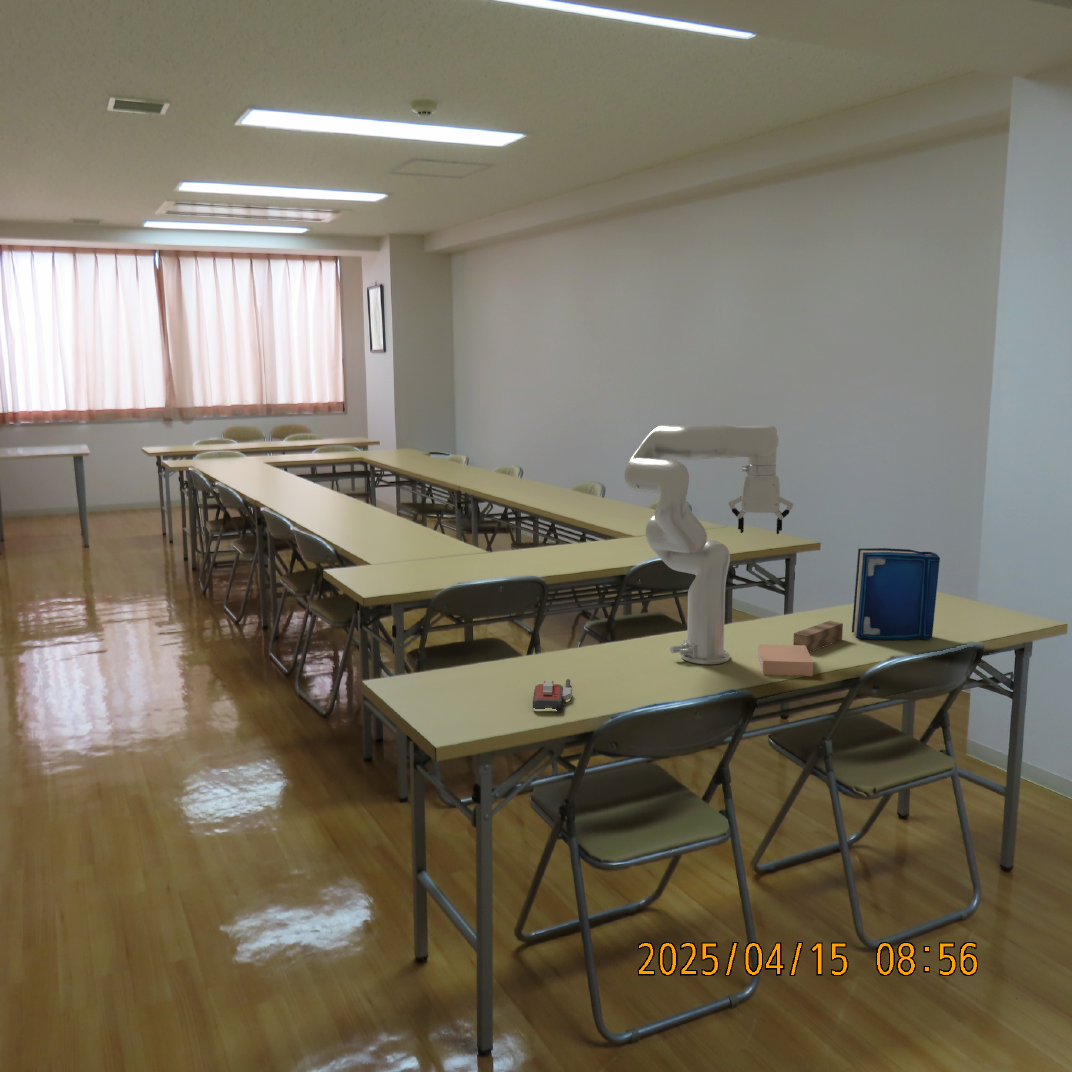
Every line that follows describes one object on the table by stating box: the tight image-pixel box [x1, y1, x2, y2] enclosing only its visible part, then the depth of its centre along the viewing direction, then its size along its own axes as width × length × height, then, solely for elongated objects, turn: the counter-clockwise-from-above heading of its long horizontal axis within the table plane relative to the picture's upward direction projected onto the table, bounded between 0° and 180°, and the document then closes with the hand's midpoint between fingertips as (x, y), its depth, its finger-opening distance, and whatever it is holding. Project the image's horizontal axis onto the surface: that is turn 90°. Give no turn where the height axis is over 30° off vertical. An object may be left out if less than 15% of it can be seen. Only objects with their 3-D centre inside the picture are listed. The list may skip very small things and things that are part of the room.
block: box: [792, 620, 844, 653], centre depth 253 cm, size 18×4×5 cm, turn 132°
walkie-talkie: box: [532, 678, 573, 712], centre depth 215 cm, size 9×4×20 cm
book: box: [851, 547, 941, 641], centre depth 257 cm, size 22×7×25 cm, turn 84°
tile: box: [757, 643, 814, 677], centre depth 236 cm, size 4×12×14 cm
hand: (759, 532), depth 255 cm, fingers open, 9 cm apart
